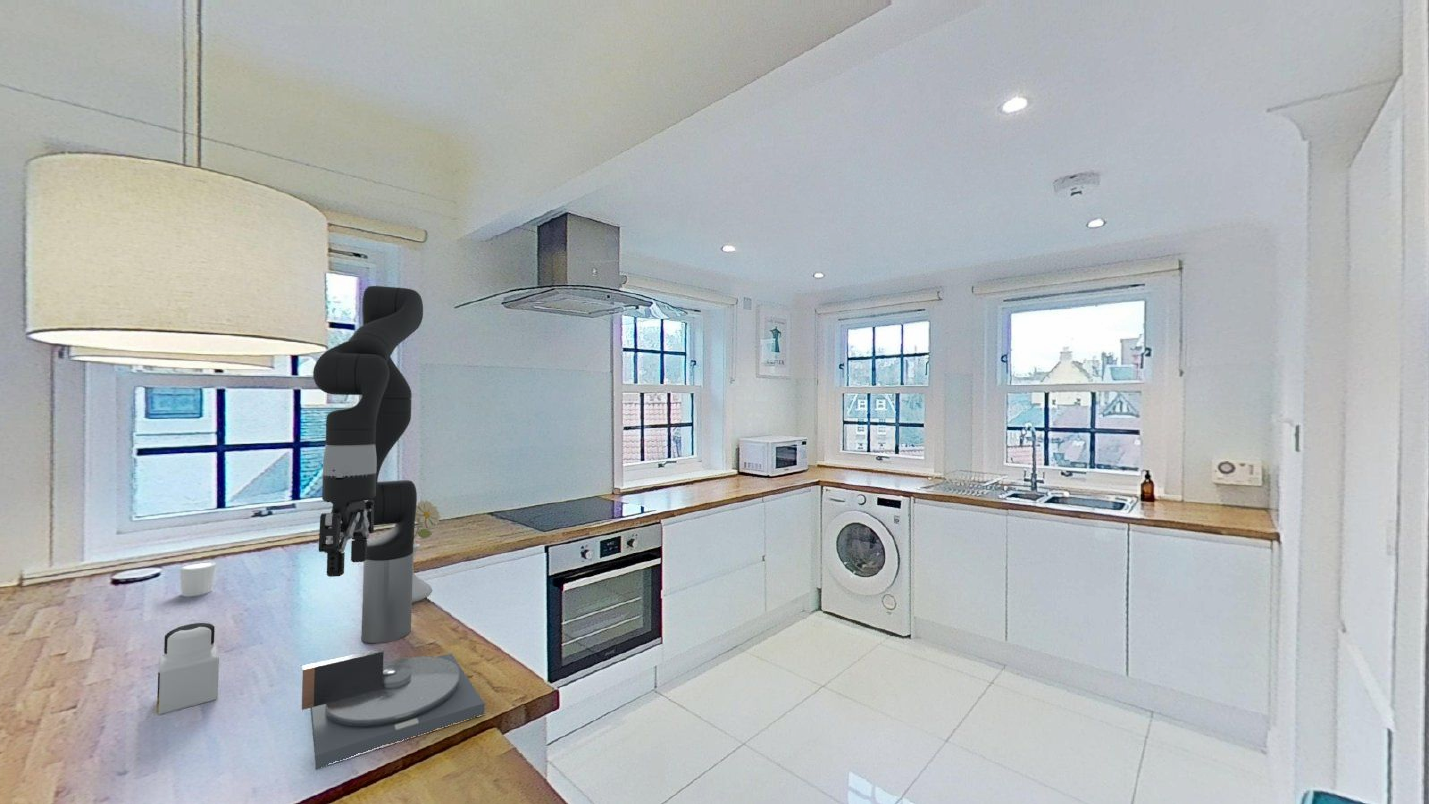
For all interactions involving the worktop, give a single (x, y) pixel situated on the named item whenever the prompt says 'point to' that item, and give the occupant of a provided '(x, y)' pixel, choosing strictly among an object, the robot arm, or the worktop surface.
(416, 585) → the flower in vase
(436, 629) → the worktop surface
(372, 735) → the plinth
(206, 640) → the grey handled container
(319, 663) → the rotary knob
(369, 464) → the robot arm
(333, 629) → the worktop surface
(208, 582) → the white cup
